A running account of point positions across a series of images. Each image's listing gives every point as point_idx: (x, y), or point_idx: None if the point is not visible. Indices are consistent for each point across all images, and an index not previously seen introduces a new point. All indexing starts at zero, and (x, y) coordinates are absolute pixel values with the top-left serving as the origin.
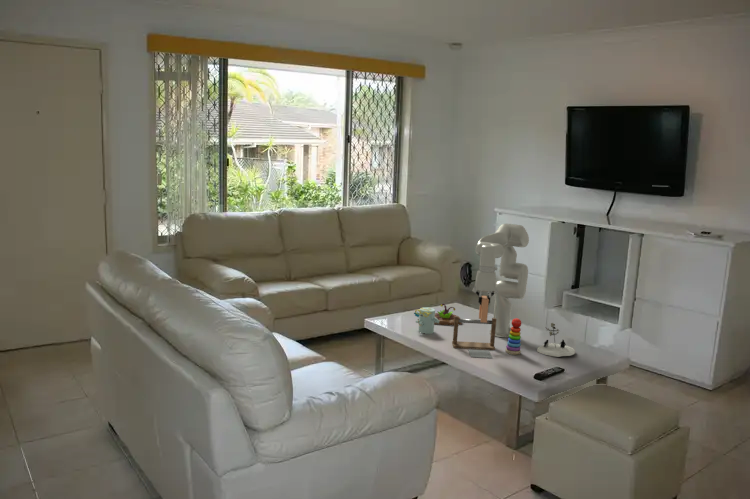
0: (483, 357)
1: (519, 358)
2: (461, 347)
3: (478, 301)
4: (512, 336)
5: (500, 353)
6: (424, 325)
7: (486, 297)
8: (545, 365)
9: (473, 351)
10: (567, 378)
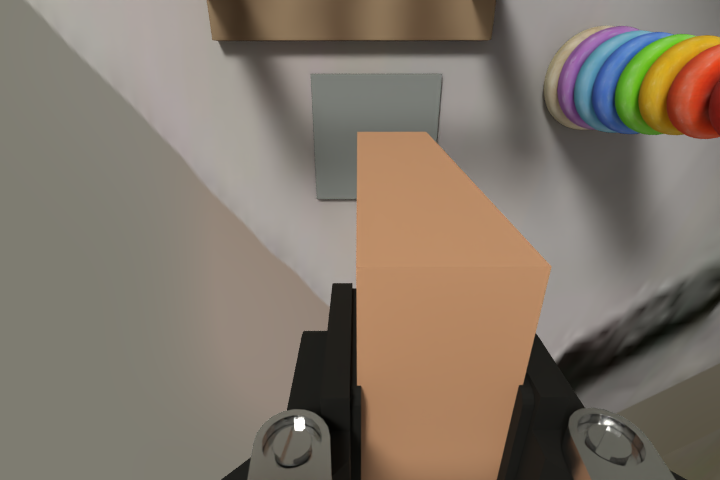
0: None
1: (583, 175)
2: (267, 40)
3: (303, 337)
4: (635, 122)
5: (502, 104)
6: None
7: (489, 427)
8: (670, 255)
9: (339, 109)
10: (676, 375)
